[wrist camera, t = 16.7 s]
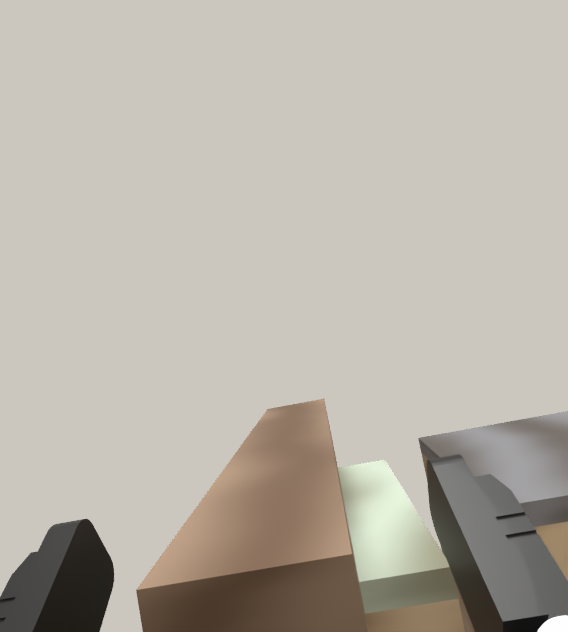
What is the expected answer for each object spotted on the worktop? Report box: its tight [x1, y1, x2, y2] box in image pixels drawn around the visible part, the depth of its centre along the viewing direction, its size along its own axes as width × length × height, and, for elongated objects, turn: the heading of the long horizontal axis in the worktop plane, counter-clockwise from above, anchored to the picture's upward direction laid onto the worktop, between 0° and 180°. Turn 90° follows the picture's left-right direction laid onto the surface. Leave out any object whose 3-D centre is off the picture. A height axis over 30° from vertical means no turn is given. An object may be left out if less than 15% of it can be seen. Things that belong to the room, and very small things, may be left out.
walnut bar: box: [136, 399, 368, 632], centre depth 20 cm, size 4×24×4 cm, turn 176°
